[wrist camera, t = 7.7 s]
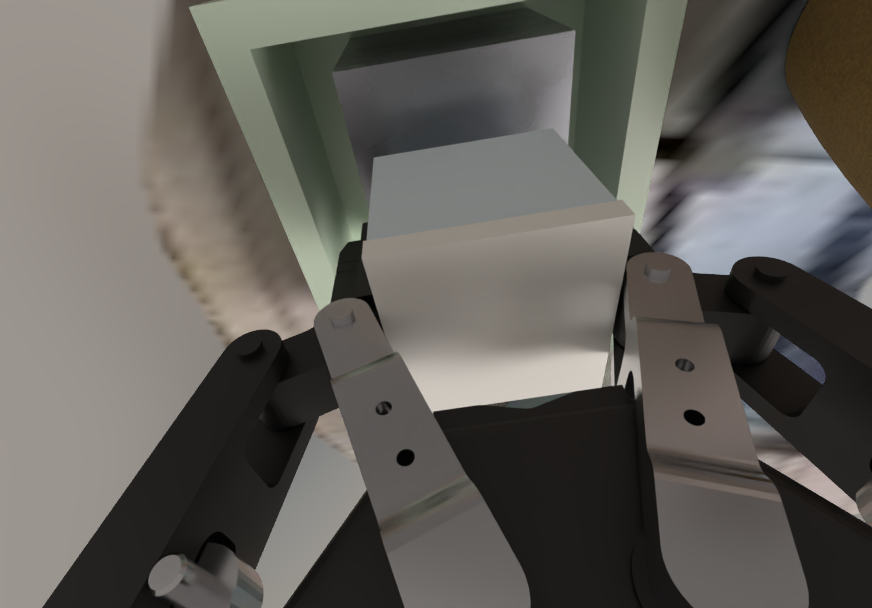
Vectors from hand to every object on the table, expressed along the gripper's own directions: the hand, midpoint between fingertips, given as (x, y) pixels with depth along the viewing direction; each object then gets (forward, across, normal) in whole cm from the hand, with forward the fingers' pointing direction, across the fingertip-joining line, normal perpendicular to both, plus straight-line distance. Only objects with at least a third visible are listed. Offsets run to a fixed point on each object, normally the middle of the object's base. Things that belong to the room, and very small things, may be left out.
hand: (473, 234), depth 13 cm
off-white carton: (+1, 0, 0) cm, 1 cm away
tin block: (+9, 0, 0) cm, 9 cm away
